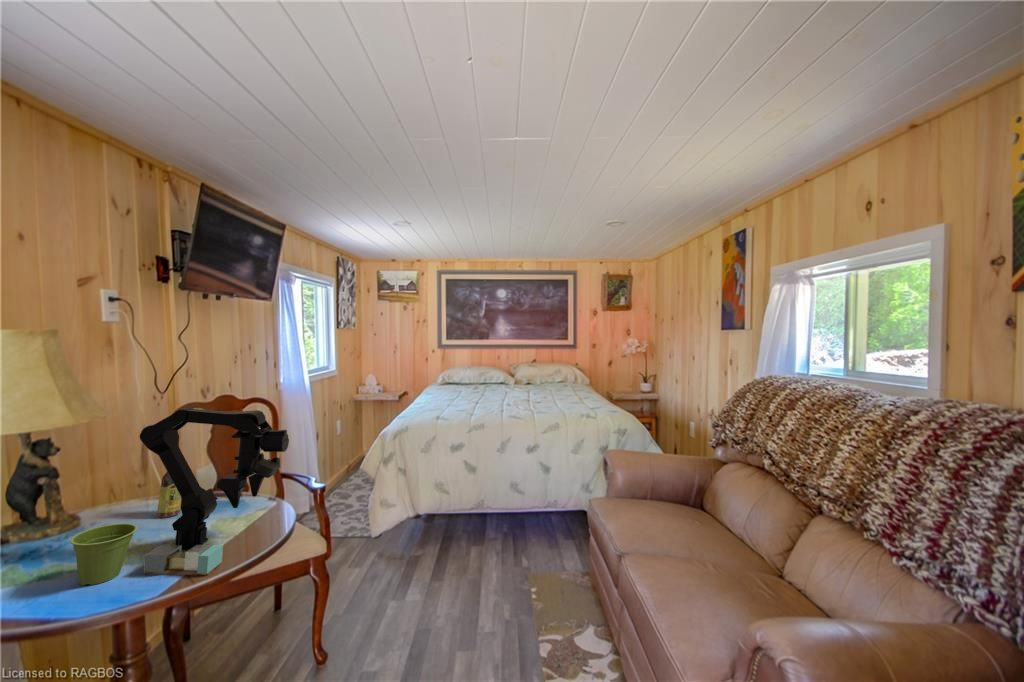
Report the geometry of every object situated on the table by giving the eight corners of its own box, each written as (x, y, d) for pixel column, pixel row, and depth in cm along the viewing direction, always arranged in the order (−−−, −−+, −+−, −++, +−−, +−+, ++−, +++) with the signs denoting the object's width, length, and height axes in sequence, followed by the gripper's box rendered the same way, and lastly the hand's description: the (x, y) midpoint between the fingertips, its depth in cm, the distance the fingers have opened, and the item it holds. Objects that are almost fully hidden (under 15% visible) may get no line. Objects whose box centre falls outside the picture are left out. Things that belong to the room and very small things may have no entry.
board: (144, 574, 99) (144, 571, 99) (160, 563, 104) (160, 561, 104) (207, 575, 100) (207, 572, 100) (220, 564, 105) (221, 562, 105)
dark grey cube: (143, 572, 99) (145, 554, 99) (161, 560, 104) (162, 544, 104) (163, 572, 99) (165, 555, 99) (180, 561, 104) (181, 544, 105)
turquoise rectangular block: (197, 573, 99) (198, 555, 100) (212, 561, 105) (213, 545, 105) (206, 573, 100) (208, 555, 100) (221, 561, 105) (223, 545, 105)
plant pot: (89, 595, 90) (94, 547, 90) (51, 587, 92) (56, 540, 92) (145, 568, 101) (149, 526, 102) (110, 561, 103) (114, 520, 104)
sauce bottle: (169, 519, 129) (174, 461, 130) (151, 518, 130) (157, 460, 130) (186, 511, 136) (191, 456, 137) (169, 510, 136) (174, 455, 137)
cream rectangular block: (163, 570, 100) (164, 551, 100) (175, 562, 104) (176, 544, 104) (206, 570, 100) (207, 552, 101) (216, 562, 104) (218, 545, 104)
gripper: (258, 461, 109) (253, 515, 109) (291, 445, 128) (287, 491, 127) (218, 459, 109) (213, 514, 108) (257, 444, 127) (253, 490, 127)
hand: (245, 501), depth 117 cm, fingers open, 9 cm apart
